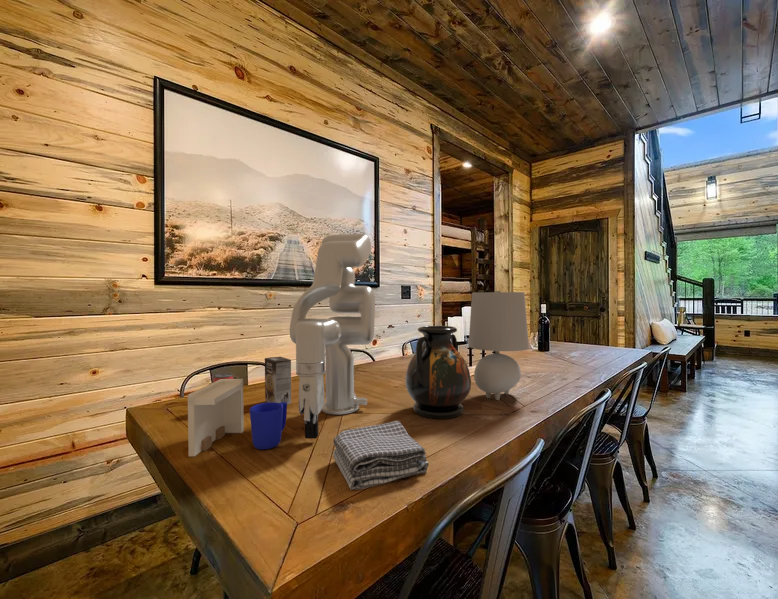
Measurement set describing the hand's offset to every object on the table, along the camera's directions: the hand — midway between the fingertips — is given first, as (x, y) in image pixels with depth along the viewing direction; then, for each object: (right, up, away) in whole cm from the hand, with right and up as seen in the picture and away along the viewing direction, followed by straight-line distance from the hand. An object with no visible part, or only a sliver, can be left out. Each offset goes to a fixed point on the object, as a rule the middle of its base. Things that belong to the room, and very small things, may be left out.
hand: (311, 437), depth 92 cm
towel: (+18, -2, -14) cm, 23 cm away
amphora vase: (+37, -1, +24) cm, 44 cm away
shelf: (-25, -2, 0) cm, 25 cm away
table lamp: (+62, -1, +39) cm, 73 cm away
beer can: (-36, -2, +27) cm, 45 cm away
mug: (-11, -2, 0) cm, 11 cm away
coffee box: (-20, -2, +35) cm, 41 cm away
